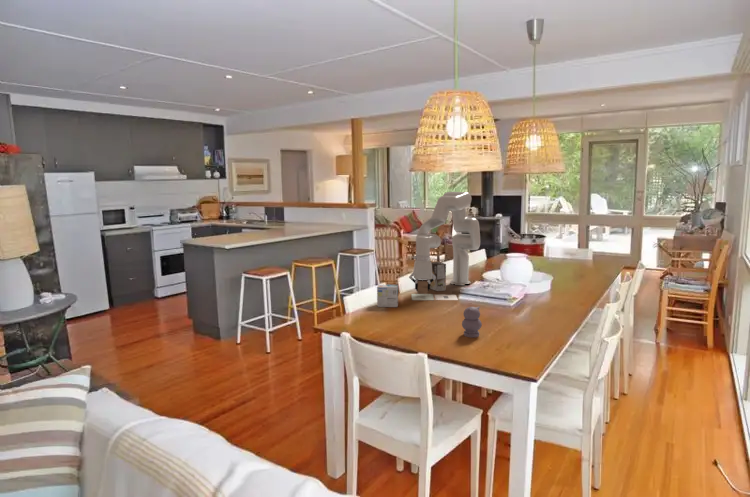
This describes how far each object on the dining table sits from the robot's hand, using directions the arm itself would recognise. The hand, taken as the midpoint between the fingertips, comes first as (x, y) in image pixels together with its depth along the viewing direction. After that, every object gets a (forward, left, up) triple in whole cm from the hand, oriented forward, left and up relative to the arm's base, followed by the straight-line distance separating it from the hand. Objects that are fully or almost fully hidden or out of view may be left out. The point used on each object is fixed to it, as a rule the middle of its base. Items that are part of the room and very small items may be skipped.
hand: (422, 290), depth 256 cm
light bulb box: (+18, -19, -4) cm, 26 cm away
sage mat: (0, 0, -4) cm, 4 cm away
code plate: (0, +13, -4) cm, 14 cm away
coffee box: (-20, +10, -4) cm, 23 cm away
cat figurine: (+64, +17, -4) cm, 66 cm away
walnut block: (0, 0, -1) cm, 1 cm away
